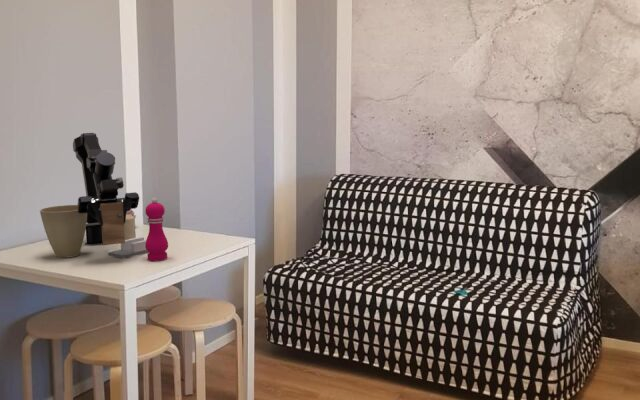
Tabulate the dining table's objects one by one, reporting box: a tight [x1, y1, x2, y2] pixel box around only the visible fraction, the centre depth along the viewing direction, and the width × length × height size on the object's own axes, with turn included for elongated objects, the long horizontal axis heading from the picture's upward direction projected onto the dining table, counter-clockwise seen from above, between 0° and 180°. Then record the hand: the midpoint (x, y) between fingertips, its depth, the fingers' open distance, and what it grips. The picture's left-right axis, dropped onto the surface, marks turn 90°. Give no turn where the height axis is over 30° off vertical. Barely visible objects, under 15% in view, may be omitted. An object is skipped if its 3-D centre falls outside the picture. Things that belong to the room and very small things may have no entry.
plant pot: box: [39, 204, 88, 258], centre depth 227 cm, size 15×15×16 cm
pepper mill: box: [144, 197, 169, 262], centre depth 221 cm, size 7×7×20 cm
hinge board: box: [107, 236, 149, 259], centre depth 232 cm, size 8×18×4 cm, turn 142°
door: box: [100, 202, 125, 246], centre depth 217 cm, size 4×6×13 cm, turn 118°
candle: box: [124, 214, 137, 240], centre depth 249 cm, size 6×6×10 cm
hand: (113, 223), depth 216 cm, fingers closed on door, 6 cm apart
